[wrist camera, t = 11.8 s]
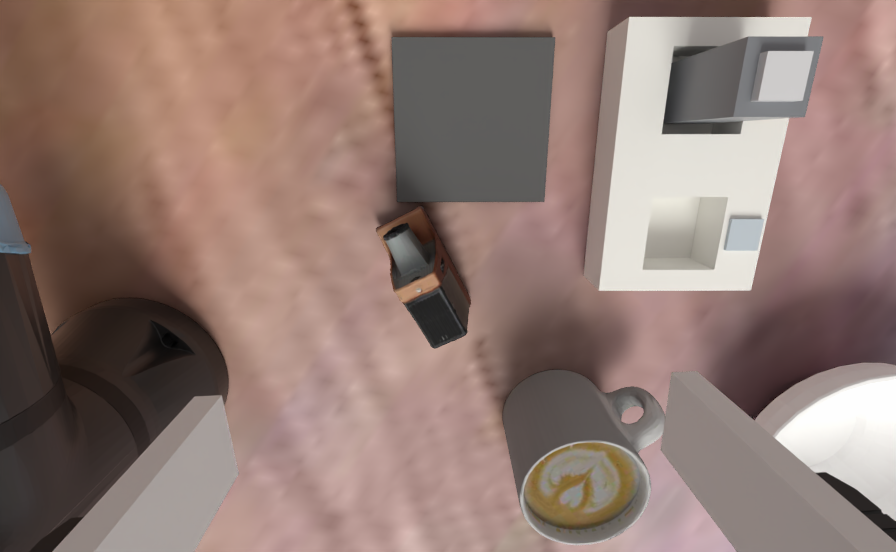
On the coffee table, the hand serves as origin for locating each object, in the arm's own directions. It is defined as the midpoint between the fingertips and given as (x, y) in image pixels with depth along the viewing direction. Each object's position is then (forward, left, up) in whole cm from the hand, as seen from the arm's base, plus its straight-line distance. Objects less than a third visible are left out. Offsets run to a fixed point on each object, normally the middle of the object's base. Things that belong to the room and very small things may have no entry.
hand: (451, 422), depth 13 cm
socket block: (+18, +6, -25) cm, 31 cm away
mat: (+2, +9, -25) cm, 27 cm away
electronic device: (-2, -2, -25) cm, 26 cm away
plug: (+18, +11, -25) cm, 32 cm away
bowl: (+35, -19, -25) cm, 47 cm away
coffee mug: (+12, -17, -25) cm, 33 cm away
